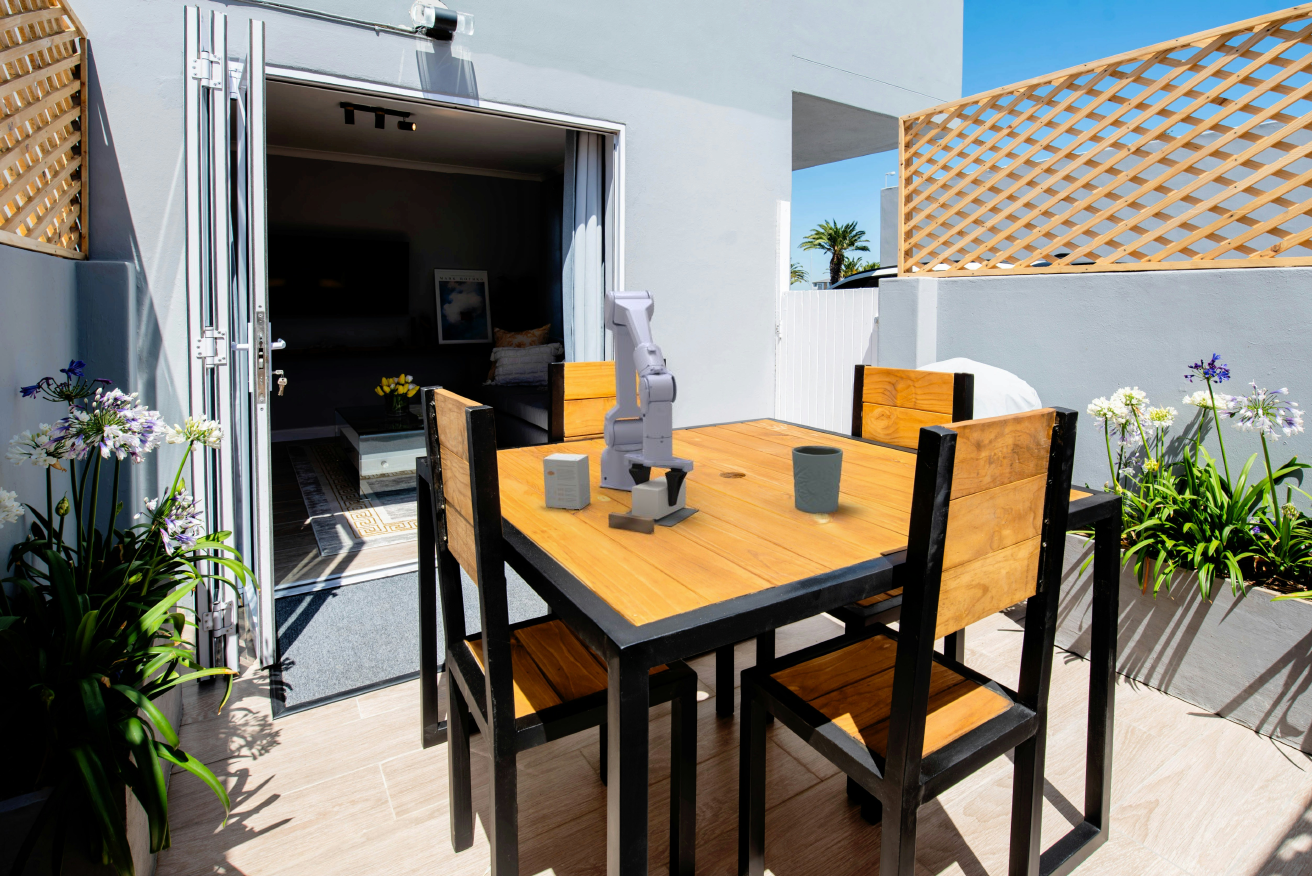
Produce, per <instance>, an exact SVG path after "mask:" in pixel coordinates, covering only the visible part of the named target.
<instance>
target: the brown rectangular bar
mask: <svg viewBox="0 0 1312 876" xmlns="http://www.w3.org/2000/svg"><path fill="white" fill-rule="evenodd" d="M607 516H608V527H609V528H614V529H620V530H625V531H631V532H637V533H644V534H649V535H650V534H653V533H654V532H655V524H654V518H648V517H642V516H635V515H629V514H625V513H623V512H616V511H612V512H609V513H608V515H607Z"/></svg>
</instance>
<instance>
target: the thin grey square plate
mask: <svg viewBox="0 0 1312 876" xmlns="http://www.w3.org/2000/svg"><path fill="white" fill-rule="evenodd" d="M699 511H700V509H697V508H692V507H691V508H690V507H686V506H685V507H683V508H681V509H679V510H677V511H674V512H672V513H670V514H668V515H666V516H664V517H662V518H659V519H654V525H657V526H661V527H662V526H663V527H669V528H671V527H673V526H676V525H677V524H678V523H681V522H682V521H684V520H686V519H687V518H689V517H690V516H692V515H694V514H695V513H698V512H699ZM624 514H629V515H632V509H631V510H629V511H626V512H624Z"/></svg>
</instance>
